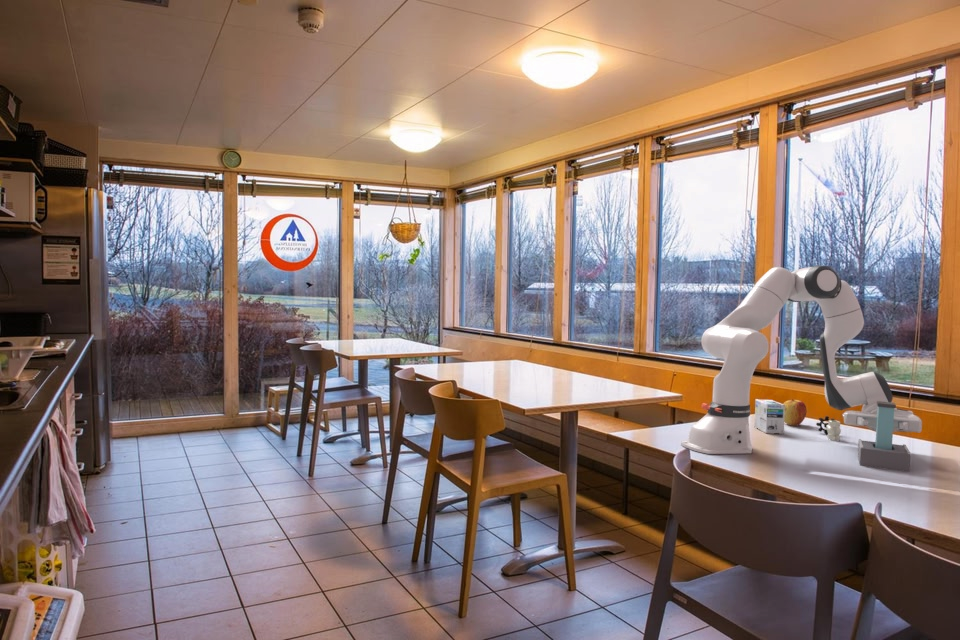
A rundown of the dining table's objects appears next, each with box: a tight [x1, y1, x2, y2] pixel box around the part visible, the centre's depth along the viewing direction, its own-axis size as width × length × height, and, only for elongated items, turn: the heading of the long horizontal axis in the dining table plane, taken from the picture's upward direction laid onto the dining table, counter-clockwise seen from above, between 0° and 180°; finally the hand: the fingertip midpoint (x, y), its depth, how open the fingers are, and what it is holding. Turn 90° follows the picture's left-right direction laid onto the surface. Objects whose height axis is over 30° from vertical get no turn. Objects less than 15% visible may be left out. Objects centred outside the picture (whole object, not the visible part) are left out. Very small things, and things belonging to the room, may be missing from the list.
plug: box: [875, 401, 897, 450], centre depth 188 cm, size 4×4×18 cm
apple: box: [782, 398, 807, 426], centre depth 247 cm, size 9×9×10 cm
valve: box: [815, 415, 842, 441], centre depth 227 cm, size 7×7×12 cm
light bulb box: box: [754, 398, 785, 435], centre depth 235 cm, size 11×7×11 cm, turn 179°
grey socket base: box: [857, 438, 911, 473], centre depth 188 cm, size 12×12×6 cm
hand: (883, 425), depth 190 cm, fingers open, 8 cm apart
